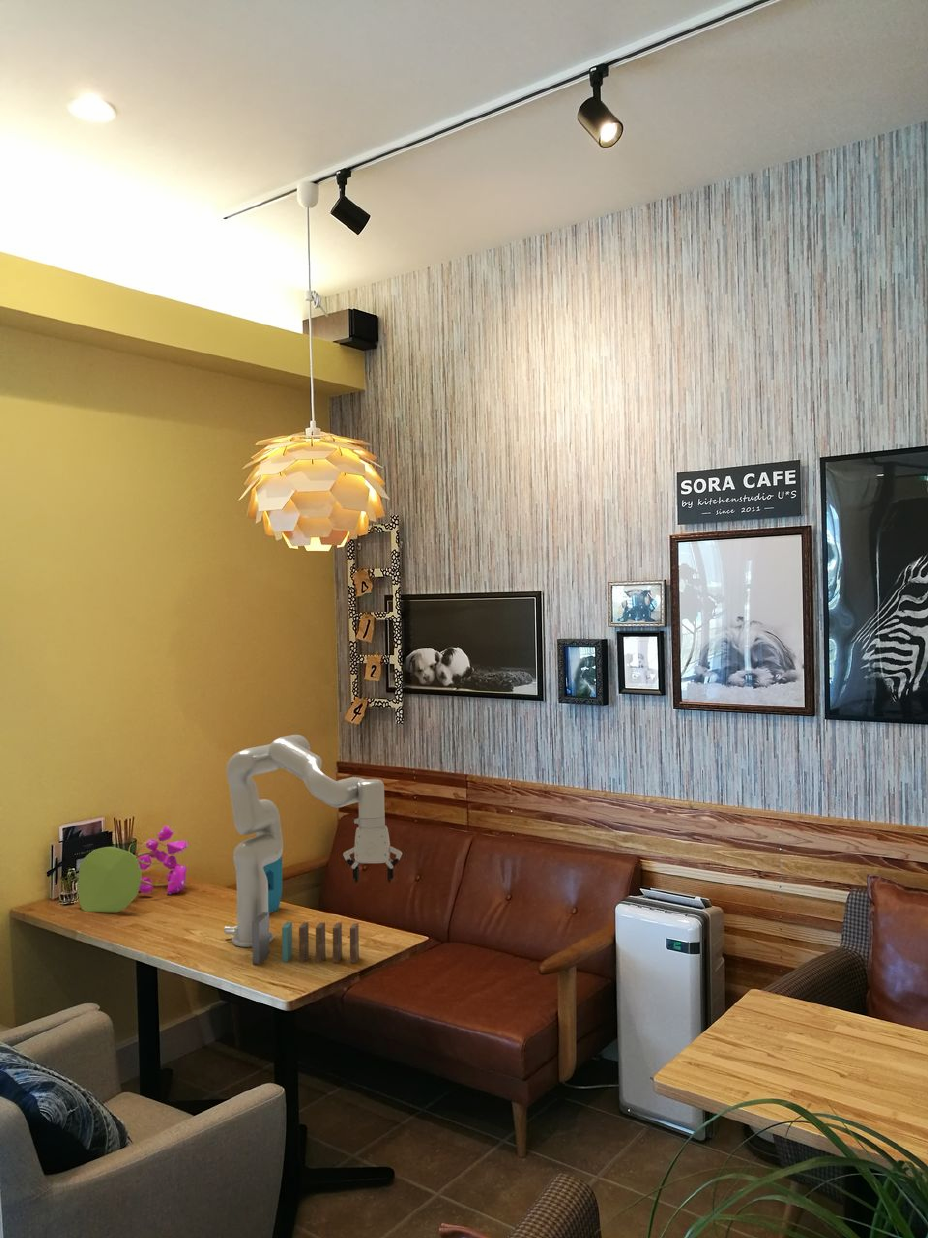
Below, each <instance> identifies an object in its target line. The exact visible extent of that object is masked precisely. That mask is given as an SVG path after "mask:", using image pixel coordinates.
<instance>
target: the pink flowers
mask: <svg viewBox="0 0 928 1238" xmlns="http://www.w3.org/2000/svg"><path fill="white" fill-rule="evenodd" d="M173 834H174V830H172V829H171V827H170V826H168V825H165V826H163V828H161V830H160V831H159V832H158V833H157V836H154V837H151V838H148V839H147V840H146V841H144V842H142V843H141V842H132V843H130V845H129V847H128V851H127V850H124V849H122V848H119V847H118V848H117V847H115V846H105V847H100V848H97V849H93V850H91V852H89V853H88V854H87V855H86V856H85V857H84V858H83V859H82V861H81V864H80V866H79V871H78V877H77V895H78V899H79V901H78V902H79V904H80V908H81V910H82V911H84V912H88V913H110V914H111V913H113V914H114V913H119V912H122V911H124V909H126V908H128V906H130V904H132V902H133V901H134V900H135V899H136V897H137V896H138V894H139V892H140V893H142V894H148V893H152V891H153V889H154V887H163V886H168V887H167V889H166V893H167V895H170V896H171V895H172V894H177V893H179V892H181V891H182V890H183V889H184V888H185V885H186V877H187V874H188V872H187V866H186V865H182V864H179V863H178V861H177V859H176V856H175V854H179V853H183V851H184V850H185V849H187V848H188V847H189V845H188V842H187V841H186V840H179V841H178V840H175V841H172V842H167V843H166V844H163V843H161V842H165V841H168V840H170V839H171V838H172V837H173ZM156 838H158V840H156ZM134 844H139V845H140V844H141V845H140V846H139V847H138V848H137V849H136V852H135V853H134V854H133V853H132V852H131V846H132V845H134ZM161 845H162V846H164V847H165V849H166V850H167V852H166V851H164V850H159V849H158V847H159V846H161ZM144 846H145V847H146V849H149V850H151V851H149V852H148V851H146V852H141V853H139V852H140V850H141V849H142V848H143V847H144ZM151 858H152V859H156V861H154V862H152V859H151ZM158 864H162V865H163V866H164V867H165V868H167V869H168V870H170V871H169V873H168V874H167V875H164V877H167V878H166V880H167V883H160V884H159V883H158V881H159V880H160V879H161V878H162V877H163V875H161V876H159V878H158V879H157V880H156V882H155V883H153V881H152V879H151V877H148V876H147V877H146V876H145V877H143V875H142V874H143V873H142V871H146V870H147V869H148V868H150V867H151V865H152V866H153V865H158Z"/></svg>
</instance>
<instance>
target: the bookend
mask: <svg viewBox="0 0 928 1238" xmlns="http://www.w3.org/2000/svg"><path fill="white" fill-rule="evenodd" d="M252 932H253V947H252V965H260V964H261V963H262V962H263V961H264V960H265V959H266V957H267V956H268V955H269V954H270V951H271V950H270V949H271V948H270V943H269V932H270V913H269V912H262V913H261V914H260V915H259V916H258V917H257V918H256V919H255V921H254V922H253V923H252Z"/></svg>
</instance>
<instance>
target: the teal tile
mask: <svg viewBox="0 0 928 1238" xmlns="http://www.w3.org/2000/svg"><path fill="white" fill-rule="evenodd" d="M281 935H282V937H281V943H282V944H281V946H282V947H281V948H282V950H281V951H282V952H281V953H282V955H281V957H282V958H281V960H282V962H283V963H288V962H289V961H290V960H291V958H292V957H293V922H292V921H286V922H285V924H284V925H282V927H281Z"/></svg>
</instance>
